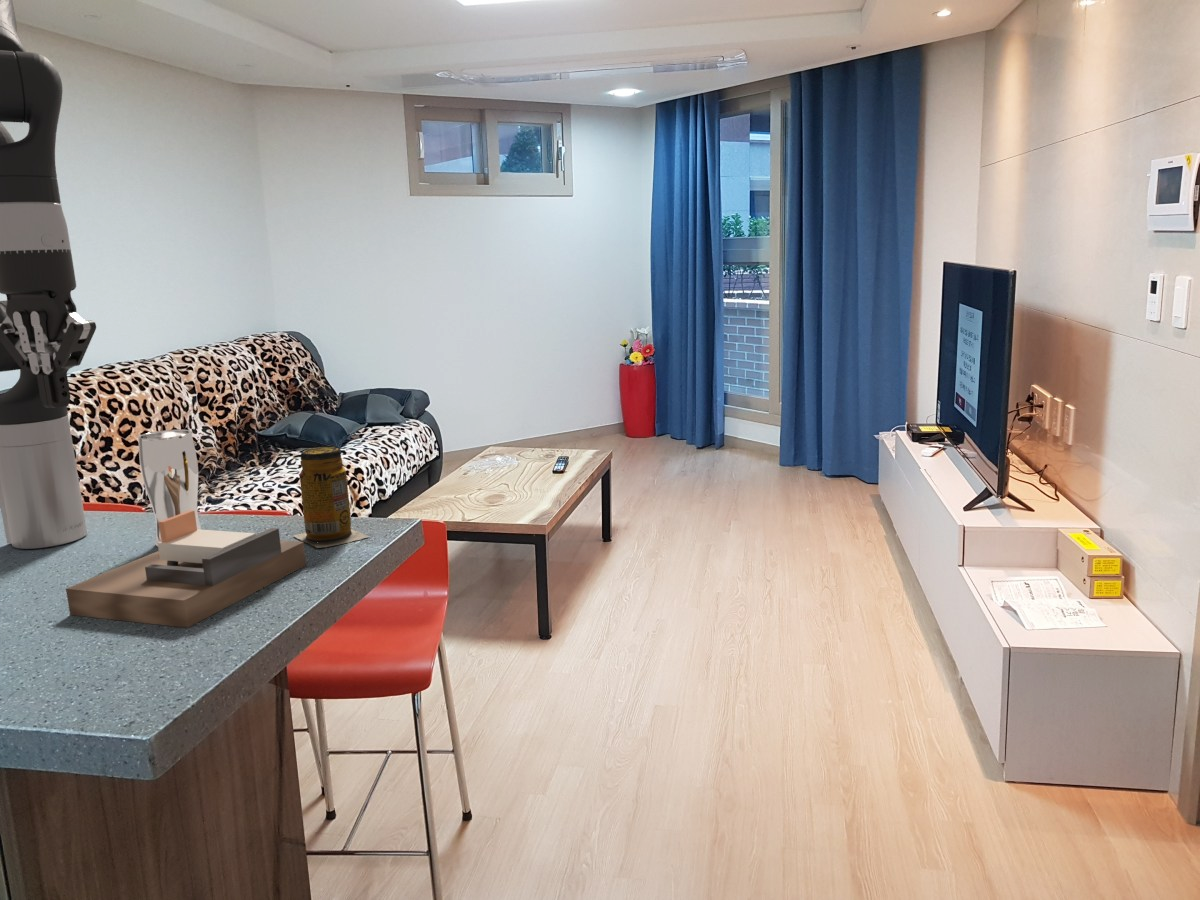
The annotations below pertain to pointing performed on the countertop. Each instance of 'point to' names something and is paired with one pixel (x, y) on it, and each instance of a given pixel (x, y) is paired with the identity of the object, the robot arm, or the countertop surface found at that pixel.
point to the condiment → (325, 499)
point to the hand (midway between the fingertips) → (56, 406)
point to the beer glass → (169, 473)
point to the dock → (186, 583)
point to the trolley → (192, 540)
